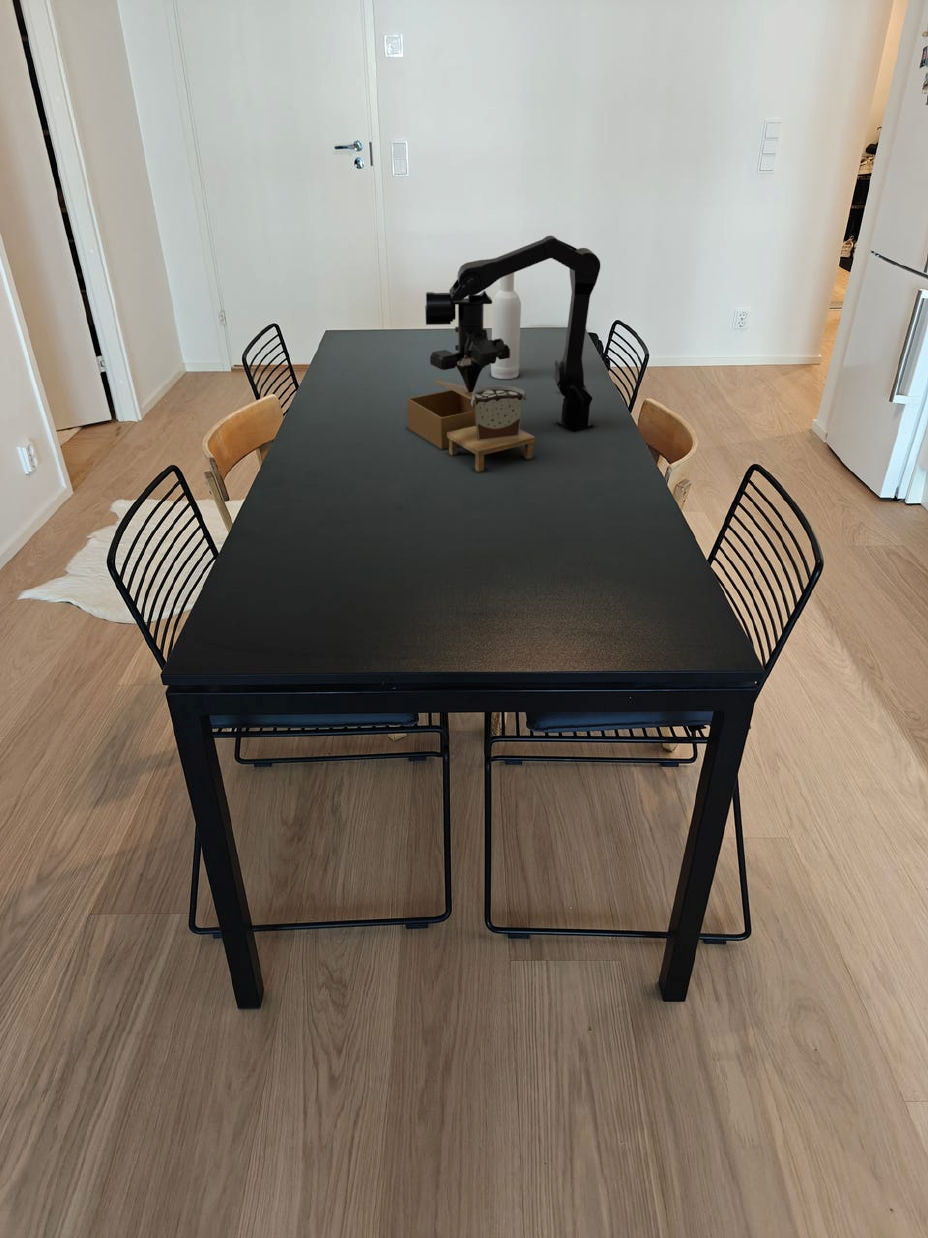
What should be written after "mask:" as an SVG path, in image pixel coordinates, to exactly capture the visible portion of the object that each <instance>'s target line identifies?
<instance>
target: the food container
mask: <svg viewBox="0 0 928 1238" xmlns="http://www.w3.org/2000/svg"><path fill="white" fill-rule="evenodd" d="M473 392H474V394H473V395H472V400H471V405H472V406H473V403H474V410H475V420H476V431H477V439H478V441H483V440H491V439H500V438H509V437H517V436H519V431H520V429H521V423H522V415H523V408H524V401H527V394H526V393H525V390H524V389H521V388H519V387H515V386H510V385H488V386H483V387H480V388H478V389H476V390H474V391H473Z"/></svg>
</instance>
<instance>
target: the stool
mask: <svg viewBox="0 0 928 1238" xmlns="http://www.w3.org/2000/svg"><path fill="white" fill-rule="evenodd" d="M447 438H449V448H448V454H449V455H451V456H456V455H458V446H460V447H462V448H464V449H465V450H467V451H469V452H471V453H472V454H474V455H475V456H474V457H475V459H474V462H475V463H474V465H475V466H474V470H475V471H476V472H478V473H481V472H484V471H485V456H486V455H489V454H493V453H497V452H500V451H501V452H502V451H505V450H509V449H513V448H517V447H521V446H524V448H523V451H524V452H523V458H524V459H526V460H530V459H533V458H534V457H533V455H534V444H535V443H536V436H534V435H532V434H530V433H528V432H527V431H525V430H523V429H521V428H520V431H519V436H517V437H509V438H500V439H491V440H483V441H478V439H477V431H476V426H473V427H468V428H464V429H460V430H455V431H451V432H447ZM457 444H459V445H458V446H457Z"/></svg>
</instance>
